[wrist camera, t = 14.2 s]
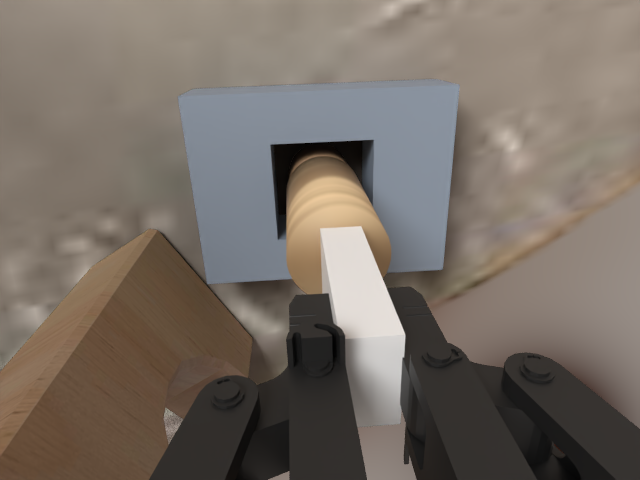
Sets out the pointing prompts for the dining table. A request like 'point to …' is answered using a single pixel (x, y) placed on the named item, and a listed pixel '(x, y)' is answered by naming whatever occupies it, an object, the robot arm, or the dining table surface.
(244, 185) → the board
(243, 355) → the decorative block
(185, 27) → the dining table surface
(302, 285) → the peg
